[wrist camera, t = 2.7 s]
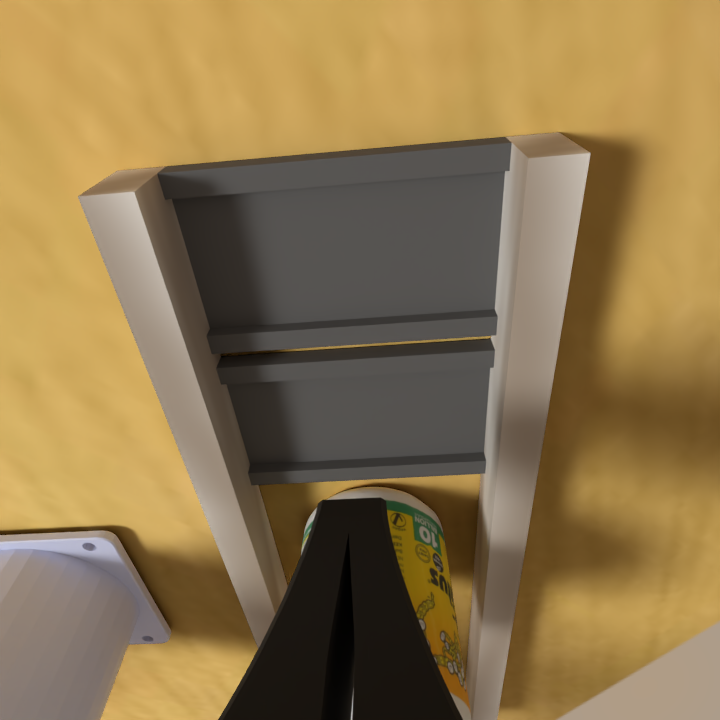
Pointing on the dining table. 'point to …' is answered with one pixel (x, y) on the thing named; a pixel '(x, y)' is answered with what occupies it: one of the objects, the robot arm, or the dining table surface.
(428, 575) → the supplement bottle
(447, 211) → the trap pits
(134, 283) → the box
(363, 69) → the dining table surface
